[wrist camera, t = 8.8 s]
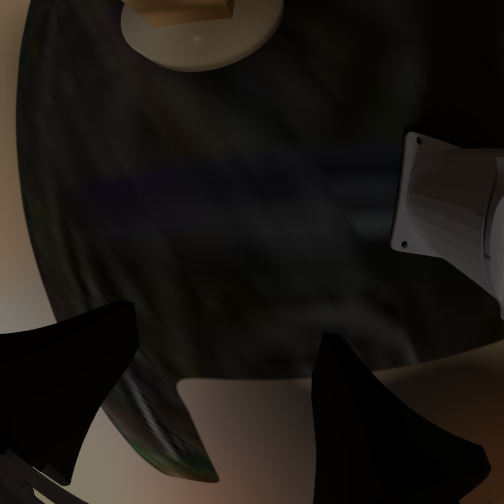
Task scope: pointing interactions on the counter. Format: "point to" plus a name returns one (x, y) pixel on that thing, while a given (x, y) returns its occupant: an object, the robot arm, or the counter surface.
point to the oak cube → (181, 10)
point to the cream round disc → (204, 36)
